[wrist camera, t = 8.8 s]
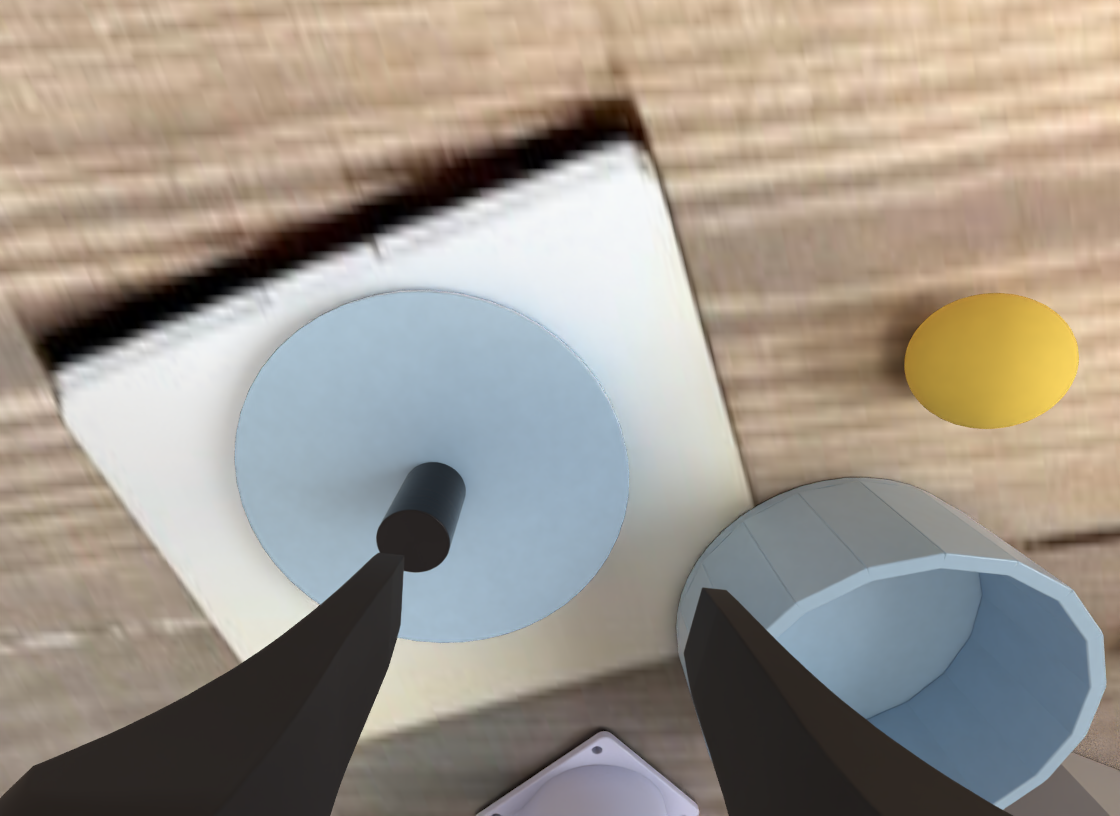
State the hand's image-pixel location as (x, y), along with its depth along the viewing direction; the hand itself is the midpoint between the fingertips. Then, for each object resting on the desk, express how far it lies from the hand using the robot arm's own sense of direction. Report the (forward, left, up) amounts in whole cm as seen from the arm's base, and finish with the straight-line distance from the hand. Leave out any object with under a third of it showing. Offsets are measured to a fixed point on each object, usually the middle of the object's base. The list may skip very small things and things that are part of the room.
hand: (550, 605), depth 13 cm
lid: (-4, +2, -9) cm, 10 cm away
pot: (+4, -15, -9) cm, 18 cm away
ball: (+14, -7, -7) cm, 17 cm away
